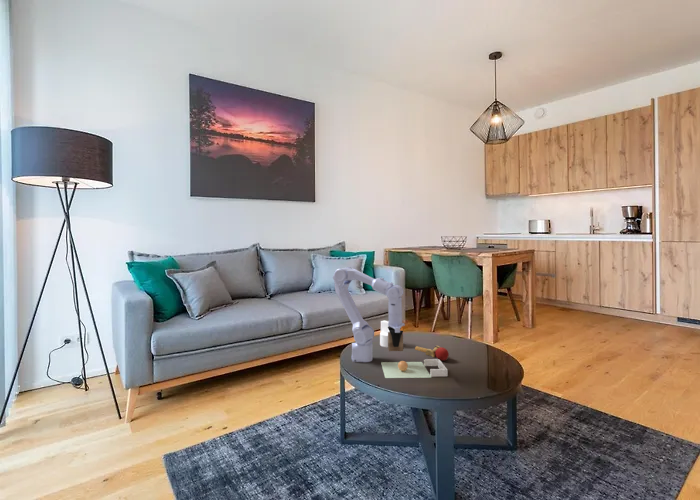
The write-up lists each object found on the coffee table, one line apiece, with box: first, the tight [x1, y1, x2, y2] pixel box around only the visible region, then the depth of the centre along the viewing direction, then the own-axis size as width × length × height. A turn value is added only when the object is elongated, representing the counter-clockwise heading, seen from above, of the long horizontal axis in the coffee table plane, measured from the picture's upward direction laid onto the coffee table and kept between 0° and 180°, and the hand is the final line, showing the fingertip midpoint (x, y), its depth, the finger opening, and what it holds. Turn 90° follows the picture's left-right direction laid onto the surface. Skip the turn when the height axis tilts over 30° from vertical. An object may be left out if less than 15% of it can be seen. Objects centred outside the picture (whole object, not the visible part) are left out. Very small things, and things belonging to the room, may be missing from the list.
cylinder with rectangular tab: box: [379, 320, 390, 348], centre depth 178 cm, size 9×9×12 cm
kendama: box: [414, 345, 450, 362], centre depth 158 cm, size 8×6×18 cm
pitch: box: [380, 358, 449, 379], centre depth 139 cm, size 24×17×4 cm
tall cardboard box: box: [387, 332, 404, 352], centre depth 145 cm, size 6×4×7 cm, turn 90°
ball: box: [398, 360, 408, 371], centre depth 138 cm, size 4×4×4 cm
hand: (395, 344), depth 145 cm, fingers closed on tall cardboard box, 4 cm apart
